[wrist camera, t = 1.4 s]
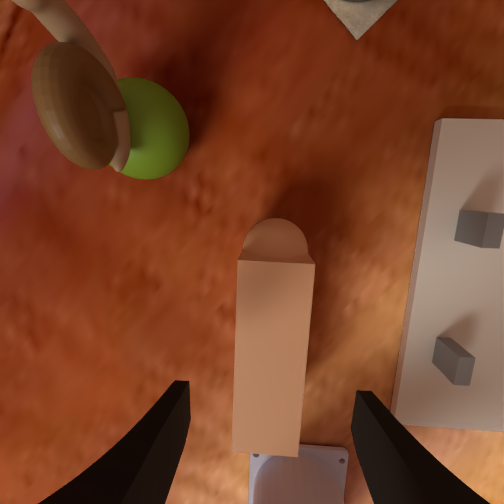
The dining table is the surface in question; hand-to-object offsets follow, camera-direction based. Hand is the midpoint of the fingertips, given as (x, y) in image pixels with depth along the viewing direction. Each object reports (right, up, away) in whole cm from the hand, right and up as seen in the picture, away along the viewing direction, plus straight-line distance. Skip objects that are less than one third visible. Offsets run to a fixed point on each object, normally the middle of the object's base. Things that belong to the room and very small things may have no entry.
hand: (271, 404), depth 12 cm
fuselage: (+1, +2, +9) cm, 10 cm away
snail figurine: (-7, +15, +7) cm, 18 cm away
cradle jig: (+17, +4, +8) cm, 19 cm away
